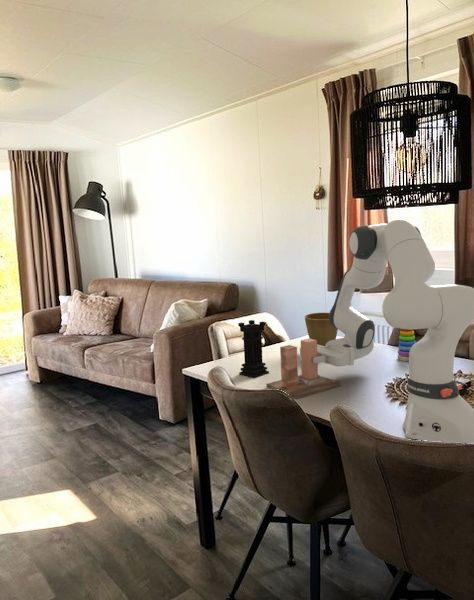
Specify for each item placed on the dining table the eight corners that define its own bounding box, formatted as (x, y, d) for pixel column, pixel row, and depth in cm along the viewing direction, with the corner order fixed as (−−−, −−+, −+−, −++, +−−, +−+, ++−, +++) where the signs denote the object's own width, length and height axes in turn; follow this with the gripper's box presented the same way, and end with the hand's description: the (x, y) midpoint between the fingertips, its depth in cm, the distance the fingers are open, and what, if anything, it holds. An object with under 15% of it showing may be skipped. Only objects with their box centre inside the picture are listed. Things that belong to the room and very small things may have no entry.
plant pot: (299, 350, 231) (298, 314, 229) (329, 346, 236) (328, 311, 233) (315, 358, 217) (314, 320, 215) (346, 353, 222) (346, 316, 220)
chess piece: (239, 374, 199) (236, 323, 196) (253, 369, 205) (251, 319, 202) (254, 378, 194) (252, 325, 191) (268, 373, 199) (266, 321, 196)
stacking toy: (415, 356, 212) (415, 311, 209) (420, 361, 204) (420, 314, 202) (395, 356, 213) (395, 311, 210) (399, 362, 205) (399, 315, 202)
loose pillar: (318, 379, 182) (316, 340, 180) (309, 381, 180) (308, 342, 178) (310, 376, 186) (309, 338, 184) (301, 379, 184) (300, 340, 182)
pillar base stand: (340, 385, 180) (339, 342, 178) (296, 398, 170) (294, 353, 167) (309, 375, 194) (308, 335, 191) (266, 387, 183) (264, 344, 181)
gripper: (316, 338, 197) (288, 344, 190) (356, 348, 180) (327, 355, 173) (317, 354, 198) (288, 361, 190) (357, 365, 181) (327, 373, 174)
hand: (307, 358), depth 181 cm, fingers closed on loose pillar, 4 cm apart
